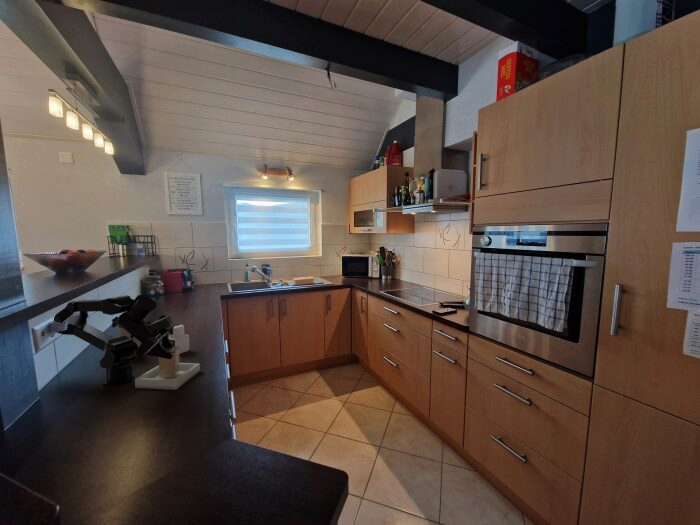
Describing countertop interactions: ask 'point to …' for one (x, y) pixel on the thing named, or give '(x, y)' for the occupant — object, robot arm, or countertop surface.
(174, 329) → the medicine bottle
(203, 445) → the countertop surface
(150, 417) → the countertop surface
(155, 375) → the tray
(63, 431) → the countertop surface
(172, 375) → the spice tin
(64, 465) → the countertop surface
